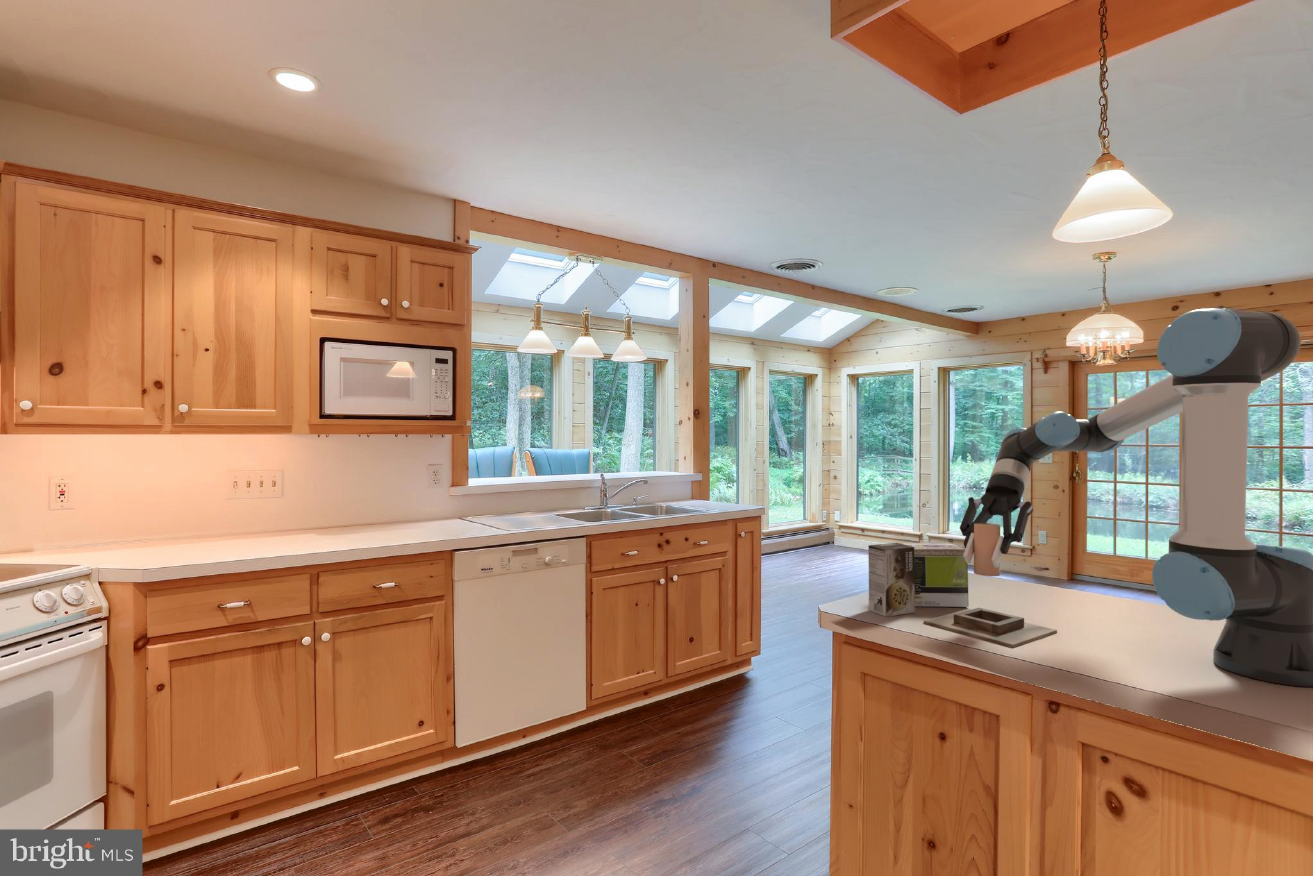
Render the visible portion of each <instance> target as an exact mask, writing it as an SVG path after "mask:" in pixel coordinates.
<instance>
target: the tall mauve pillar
mask: <svg viewBox="0 0 1313 876" xmlns="http://www.w3.org/2000/svg"><path fill="white" fill-rule="evenodd" d="M999 536H1001V525H1000V524H997V523H990V522H989V523H988V522H987V523H974V553H973V574H975V575H977V576H985V577H1000V575H1001V563H1000V564H999V567H994V565H993V562H992V560H991V559H992V556H993V553H994V550H995V547H996V544H997V541H998V538H999Z"/></svg>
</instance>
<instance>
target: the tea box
mask: <svg viewBox="0 0 1313 876" xmlns="http://www.w3.org/2000/svg"><path fill="white" fill-rule="evenodd" d="M899 543H900V544H905V545H908V546H912V547H914V560H915V607H943V608H944V607H945V608H946V607H947V608H949V607H951V608H953V607H954V608H969V604H970V603H969V563H966V561H965V559H964V556H963V554H964V552H965V547H961V546H959V545H956V544H954V543H950V542H949V543H945V542H944V543H941V542H937V543H934V542H932V543H931V542H930V543H928V542H926V543H925V542H923V543H922V542H921V543H920V542H918V543H917V542H916V543H915V542H912V543H911V542H909V543H905V542H904V543H901V542H899Z"/></svg>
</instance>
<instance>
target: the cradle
mask: <svg viewBox="0 0 1313 876" xmlns="http://www.w3.org/2000/svg"><path fill="white" fill-rule="evenodd" d="M922 623H923V624H926V625H930V626H933V627H936V628H941V629H944V630H947V631H950V632H955V633H958V634H962V635H966V636H969V637H971V638H972V637H973V638H976V639H979V640H983V641H987V642H991V643H995V644H999V645H1002V646H1006V647H1008V648H1016V647H1019V646H1022V645H1025V644H1027V643H1028V644H1029V643H1031V642H1033V641H1037V640H1039V639H1042V638H1045V636H1046V637H1049V636H1051V635H1055V634H1057V633H1058V631H1057V629H1054V628H1050V627H1046V626H1042V625H1038V624H1037V625H1036V624H1033V623H1029V622H1025V617H1020V616H1016V615H1012V614H1008V613H1004V612H1000V611H994V610H992V609H991V610H990V609H987V608H981V607H976V608H972V609H971V608H967V609H963V610H959V611H955V612H951V613H946V614H943V615H939V616H936V617H932V618H928V619H925V620H923V622H922Z"/></svg>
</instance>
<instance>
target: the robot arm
mask: <svg viewBox="0 0 1313 876" xmlns="http://www.w3.org/2000/svg"><path fill="white" fill-rule="evenodd" d="M1301 341H1302V340H1301V335H1300V333H1299V330H1298V328H1297V327H1296V325H1295V323H1293V322H1291V320H1289V319H1288V318H1287V317H1284V316H1283V315H1280V314H1278V313H1275V312H1270V311H1263V310H1262V311H1261V310H1244V309H1243V310H1242V309H1232V308H1231V309H1230V308H1225V307H1224V308H1223V307H1215V308H1213V307H1211V308H1200V309H1194V310H1190V311H1187V312H1185V313H1183V314H1181V315H1179V316H1178V317H1176V318H1175V319H1174V320H1173V321H1172V322H1171V323H1170V324H1169V325H1168V326H1166V327H1165V329H1164V330H1163V331H1162V333H1161V335H1160V337H1159V340H1158V343H1157V346H1156V347H1157V348H1156V356H1157V359H1158V362H1159V364H1160V366H1162V367H1164V368H1163V369H1164V370H1165V371H1166V372H1167V373H1170V375H1168V376H1166V377H1165V378H1162V379H1161V380H1159V381H1157V382H1155V383H1153V384H1152V385H1150V386H1148V387H1145V388H1144V389H1142V390H1139V391H1138V392H1136V393H1135V394H1133V395H1131V396H1129V397H1127V398H1125V399H1123V400H1121V401H1119V402H1117V403H1115V404H1114V405H1112V406H1110V407H1109V408H1106V409H1105V410H1102V411H1101V412H1099V413H1097V414H1095V415H1093V416H1091V417H1089V418H1085V419H1081V418H1080V419H1079V418H1078V419H1077V418H1075V417H1074V416H1072V415H1071V414H1068V413H1066V412H1065V411H1060V410H1059V411H1054V412H1052V413H1049V414H1048V415H1045V416H1043V417H1042V418H1040V419H1039V420H1038V421H1036V422H1034V423H1033V424H1032V425H1030V426H1029V427H1018V428H1013V429H1010V430H1008V432H1007V433H1006V434H1005V436H1004V438H1003V440H1002V442H1001V445H1000V449H999V451H998V454H997V457H996V460H995V464H994V465H993V469H992V471H991V474H990V478H989V480H988V481H987V482H988V483H987V485H986V488H985V492H984V494H983V495H982V496H981V497H980V498H974V497H971V496H970V497H969V498H968V502H967V503H968V505H967V508H966V511H965V513H964V515H963V518H962V519H961V522H960V526H959V529H960V532H961V534H962V536H964V537H965V538H964V539H963V540H964V541H963V548H964V549H965V552H964V554H963V556H964V559H965V561H966V563H968V564H971V561H972V558H973V557H974V523H988V521H989V520H991V519H992V518H993V517H994V516H1001V517H1002V531H1003V532H1002V535H1000V536H999V538H998V541H997V544H996V547H995V550H994V553H993V556H992V559H991V560H992V562H993V565H994V567H999V564H1000V565H1001V560H1002V556H1003V555H1007V554H1008V552H1009V549H1010V547H1011V544H1012V543H1014V542H1016V543H1022V541H1023V538H1024V536H1025V535H1024V534H1025V531H1026V527H1027V524H1028V519H1029V517H1030V515H1031V514H1032V513H1033V511H1034V508H1033V505H1032V502H1031V501H1029V500H1028V501H1025V502H1024V501H1021V500H1022V497H1023V494H1024V491H1025V487H1026V485H1027V482H1028V478H1029V475H1030V472H1031V469H1032V466H1033V464H1034V463H1035V462H1037V461H1039V460H1041V459H1044V458H1045V457H1046V456H1048V455H1050V454H1053V453H1055V452H1056V453H1057V452H1064V453H1065V452H1067V453H1068V452H1089V453H1090V452H1095V453H1105V452H1110V451H1111V452H1112V451H1115V450H1117V449H1119V448H1120V447H1121V445H1122V444H1123V443H1124V441H1125V439H1127V438H1129V437H1131V436H1133V435H1136V434H1138V433H1140V432H1142V431H1145V430H1146V429H1149V428H1151V427H1154V426H1155V425H1157V424H1159V423H1161V422H1164V421H1166V420H1168V419H1170V418H1173V417H1174V416H1176V415H1178V414H1181V413H1182V422H1181V423H1182V425H1181V427H1182V429H1181V430H1182V431H1181V466H1180V467H1181V473H1180V476H1181V477H1180V478H1181V479H1180V515H1179V516H1180V518H1179V519H1180V520H1179V521H1180V522H1179V526H1180V527H1179V529H1178V530H1177V531H1176V532H1174V534H1172V535H1170V536H1169V537H1168V553H1165V554H1163V555H1162V556H1160V557H1159V559H1158V560H1156V561H1155V562H1154V564H1153V567H1152V571H1151V579H1152V583H1153V586H1154V589H1155V592H1156V593H1157V595H1158V597H1159V598H1160V599H1161V600H1162V601H1164V602H1165V604H1166V606H1167V607H1168V608H1170V609H1171V610H1172V611H1174V612H1175V613H1177V614H1178V615H1181V616H1183V617H1186V618H1189V619H1191V620H1192V619H1193V620H1197V621H1198V620H1199V621H1200V620H1201V621H1203V620H1204V621H1210V622H1211V621H1222V620H1223V621H1224V620H1225V623H1224V625H1223V628H1222V630H1221V632H1220V634H1219V637H1218V639H1217V641H1216V643H1215V645H1214V647H1213V651H1212V652H1213V654H1212V655H1213V658H1212V659H1213V663H1214V664H1215V665H1216V666H1218V667H1220V668H1221V669H1223V670H1226V671H1229V672H1231V673H1234V674H1237V675H1239V676H1243V677H1247V678H1251V679H1255V680H1259V681H1264V682H1268V683H1274V684H1280V685H1286V686H1287V685H1288V686H1295V687H1306V688H1307V687H1308V688H1310V687H1311V688H1313V554H1312V552H1310V551H1308V550H1307V549H1306V550H1305V549H1301V548H1295V547H1288V546H1287V547H1286V546H1281V545H1273V544H1267V543H1260V542H1259V543H1257V542H1253V541H1252V540H1251V539H1249V538H1248V537H1247V536H1246V506H1247V505H1246V504H1247V503H1246V502H1247V467H1248V463H1247V462H1248V460H1247V459H1248V429H1249V428H1248V427H1249V426H1248V423H1249V422H1248V421H1249V419H1248V418H1249V397H1250V395H1251V394H1252V393H1253V392H1255V390H1257V389H1258V388H1259V387H1261V386H1262V382H1264V381H1265V380H1267V379H1270V378H1273V377H1274V376H1276V375H1278V374H1279V373H1281V372H1282V371H1284V370H1286V369H1287V368H1288V367H1289V366H1290V365H1291V364H1292V363H1293V362H1294V361H1295V360H1296V357H1297V356H1298V355H1299V352H1300V349H1301ZM980 506H982V508H981V511H980V512H979V514H978V515H977V511H978V509H980ZM1018 509H1019V512H1018V515H1017V519H1016V522H1015V526H1014V529H1013V528H1012V513H1013V512H1015V511H1017V510H1018ZM976 515H977V516H976ZM1012 529H1013V531H1012Z"/></svg>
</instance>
